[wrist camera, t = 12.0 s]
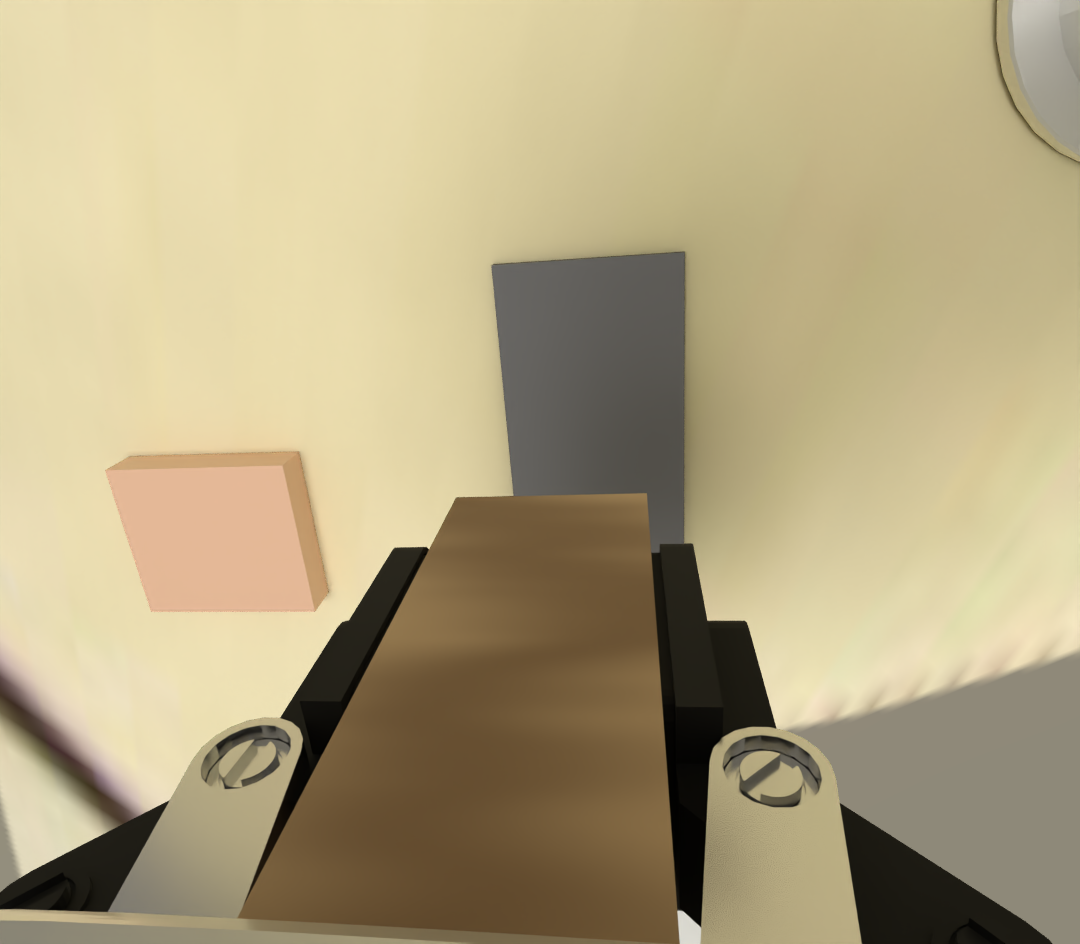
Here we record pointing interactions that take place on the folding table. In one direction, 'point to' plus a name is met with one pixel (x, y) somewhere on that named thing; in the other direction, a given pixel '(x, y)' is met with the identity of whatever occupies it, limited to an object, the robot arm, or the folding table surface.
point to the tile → (221, 531)
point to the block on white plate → (500, 743)
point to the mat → (596, 379)
